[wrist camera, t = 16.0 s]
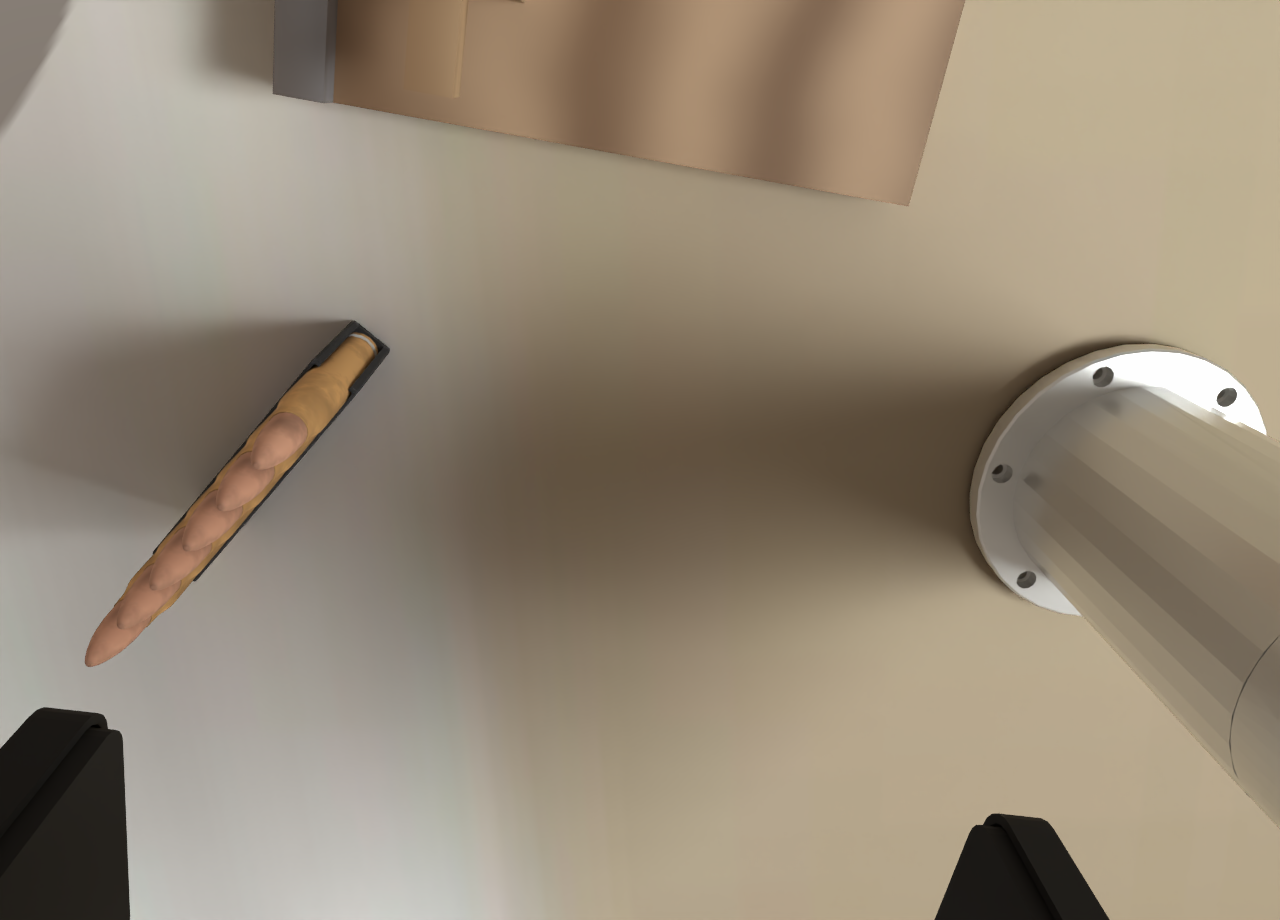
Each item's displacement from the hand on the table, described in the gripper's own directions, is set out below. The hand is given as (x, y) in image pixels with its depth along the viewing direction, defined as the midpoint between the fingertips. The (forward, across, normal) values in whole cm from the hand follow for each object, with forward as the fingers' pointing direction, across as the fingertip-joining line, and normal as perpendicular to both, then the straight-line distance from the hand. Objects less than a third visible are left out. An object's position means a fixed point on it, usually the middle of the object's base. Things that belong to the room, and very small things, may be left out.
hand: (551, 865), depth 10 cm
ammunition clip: (+28, +11, +7) cm, 31 cm away
